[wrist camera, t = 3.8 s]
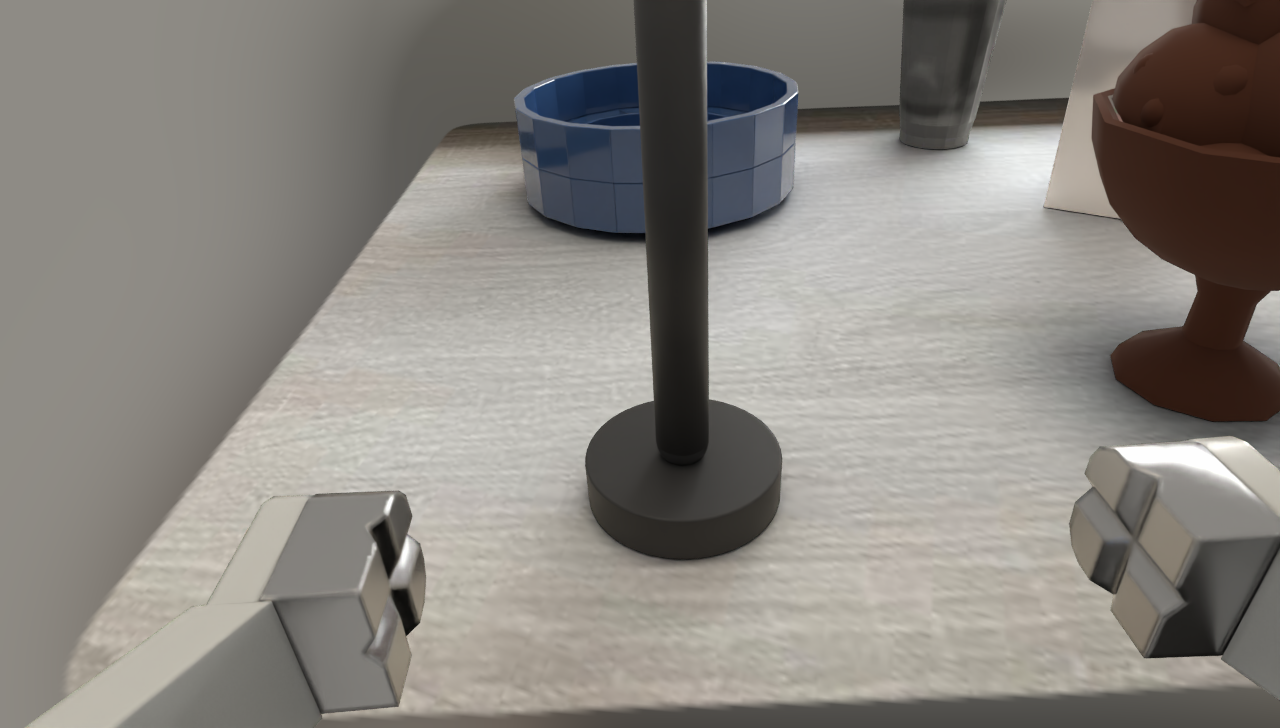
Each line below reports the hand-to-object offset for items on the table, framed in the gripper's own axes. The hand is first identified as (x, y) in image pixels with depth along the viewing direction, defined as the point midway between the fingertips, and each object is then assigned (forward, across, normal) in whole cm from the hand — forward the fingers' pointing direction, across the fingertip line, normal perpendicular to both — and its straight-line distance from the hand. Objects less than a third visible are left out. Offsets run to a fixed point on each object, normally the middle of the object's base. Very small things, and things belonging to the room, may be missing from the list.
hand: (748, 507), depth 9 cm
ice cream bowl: (+16, -19, +10) cm, 27 cm away
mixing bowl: (+40, -1, +10) cm, 41 cm away
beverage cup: (+46, -20, +10) cm, 51 cm away
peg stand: (+12, 0, +10) cm, 15 cm away
